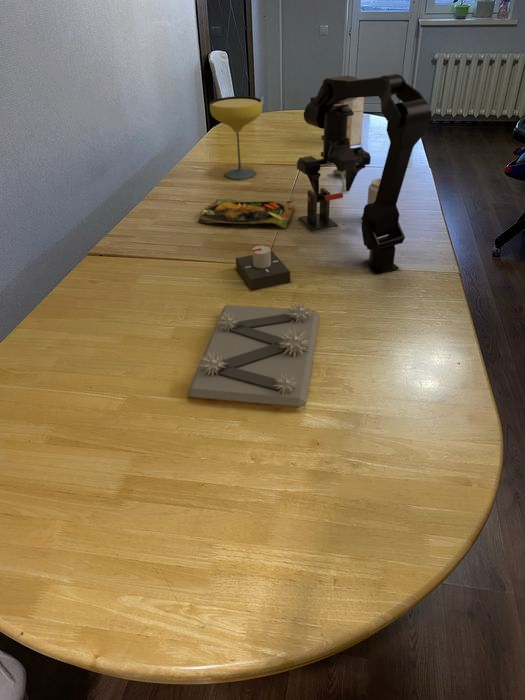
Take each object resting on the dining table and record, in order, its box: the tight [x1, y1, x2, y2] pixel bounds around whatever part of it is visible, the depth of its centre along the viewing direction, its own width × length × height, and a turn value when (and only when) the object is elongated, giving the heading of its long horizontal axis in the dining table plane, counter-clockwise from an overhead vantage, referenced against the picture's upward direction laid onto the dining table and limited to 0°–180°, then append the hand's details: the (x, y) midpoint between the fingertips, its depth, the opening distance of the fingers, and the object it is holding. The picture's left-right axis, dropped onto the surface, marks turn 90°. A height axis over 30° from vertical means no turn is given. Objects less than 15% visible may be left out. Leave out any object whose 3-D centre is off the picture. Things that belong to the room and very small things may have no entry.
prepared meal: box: [198, 198, 297, 230], centre depth 159 cm, size 28×4×18 cm
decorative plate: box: [186, 300, 320, 408], centre depth 101 cm, size 30×22×7 cm
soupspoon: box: [332, 168, 348, 193], centre depth 181 cm, size 22×3×7 cm
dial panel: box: [235, 250, 291, 291], centre depth 129 cm, size 12×10×3 cm
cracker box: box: [334, 97, 365, 147], centre depth 216 cm, size 14×6×21 cm, turn 25°
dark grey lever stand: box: [298, 187, 339, 232], centre depth 151 cm, size 10×8×10 cm
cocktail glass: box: [209, 95, 263, 181], centre depth 185 cm, size 18×18×25 cm
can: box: [366, 178, 381, 205], centre depth 150 cm, size 8×8×12 cm
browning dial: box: [252, 245, 272, 269], centre depth 127 cm, size 4×4×4 cm
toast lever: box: [317, 192, 344, 203], centre depth 145 cm, size 12×5×2 cm, turn 20°
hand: (332, 193), depth 139 cm, fingers open, 9 cm apart
